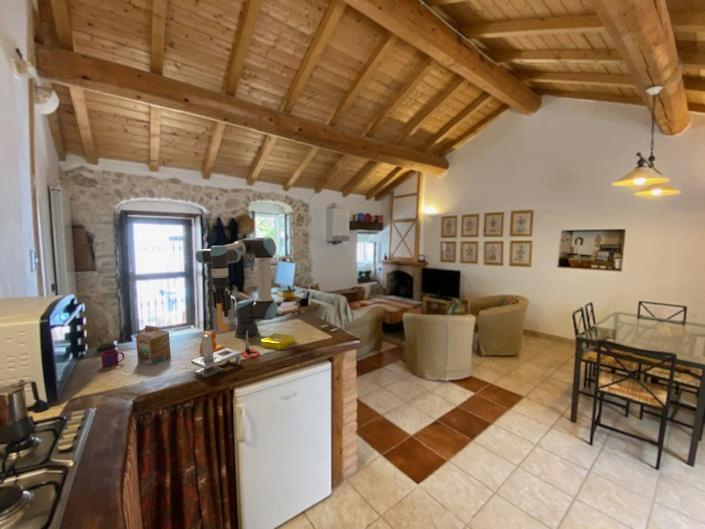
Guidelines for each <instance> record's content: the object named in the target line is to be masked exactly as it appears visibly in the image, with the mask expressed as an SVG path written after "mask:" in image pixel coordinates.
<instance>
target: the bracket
mask: <svg viewBox="0 0 705 529" xmlns="http://www.w3.org/2000/svg"><path fill="white" fill-rule="evenodd" d="M205 334H212V348H213V353H214V352H217V351H220V350H223V349H224V345H223V344H217V342H216V338H217V333H216V332H214V331H208V330H206V331H205V332H203V334H202V335H205ZM199 347H200V348H199V355H203V350H202V340H201V341H200V346H199Z"/></svg>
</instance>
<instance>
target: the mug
mask: <svg viewBox="0 0 705 529" xmlns="http://www.w3.org/2000/svg"><path fill="white" fill-rule="evenodd" d="M119 354H121V355H122V359H121V360H119ZM100 357H101V366H102V368H104V369H105V368H111V367H115V366H117V365H119V363H121V362H123V360H125V354H124V353H123V351H121V352H119V351H118V350H117V349H110V350H105V351H103V352H102V353H100Z"/></svg>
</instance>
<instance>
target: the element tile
mask: <svg viewBox="0 0 705 529" xmlns="http://www.w3.org/2000/svg"><path fill="white" fill-rule="evenodd" d="M294 337H295V336H294V335H293V334H285V333H277V332H275V333H272V334H270V335H268V336H266V337H264V338H261V341H260V344H261V345H260V346H261V348H266V349H273V350H283V349H285V348H286V346H287V347H288V346H290V345H292V344H293V343H295V338H294Z"/></svg>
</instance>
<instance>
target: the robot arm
mask: <svg viewBox="0 0 705 529" xmlns="http://www.w3.org/2000/svg"><path fill="white" fill-rule="evenodd" d="M276 254H277V246H276V242H275V240H274V239H273V238H271V237H246V238H242V239H240V240H239V239H238V240H235V241H234V242H233V243H229V244H225V245H212V246H211V247H210V248H203V249H198V250H196V252H195V260H196V261H197V262H198V263H199V264H211V276H212V279H211V280H212V285H213V286H214V288H211V294H212V301H213V304H212V305H213V308H214V309H215V310H216V311H217V303H222V307H223V310H222V319H223V324H225V323H228V324H229V310H231V309H232V300H231V299H232V298H231V295H232V290H231V289H228V288H229V287H228V284H230V280H229V264H235V263H238V262H239V261H240V260H241V259H242V256H253V257H254V260H255V261H256V268H257V270H256V271H257V272H256V273H257V298H256V299H253V298H250V299H249V298H248V299H244V300H240V301H238V302H236V304H235V306H236V308H235V310H236V311H235V313H236V327H235V331H234V336H235V337H236V338H238V339H239V338H240V339H243V338H244V339H246V331H248V338H252V337H255V336H258V334H260V333H259V332H260V331H259V327H258V325H257V321H258V320H261V321H269V320H270V321H272V320H274V319H275V317H276V315H277V313H278V308H279V306H278V303H277V302H276V301H275V298H273V296H272V264H271V263H272V262H271V261H272V260H273V259H274V256H276ZM256 320H257V321H256Z"/></svg>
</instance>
